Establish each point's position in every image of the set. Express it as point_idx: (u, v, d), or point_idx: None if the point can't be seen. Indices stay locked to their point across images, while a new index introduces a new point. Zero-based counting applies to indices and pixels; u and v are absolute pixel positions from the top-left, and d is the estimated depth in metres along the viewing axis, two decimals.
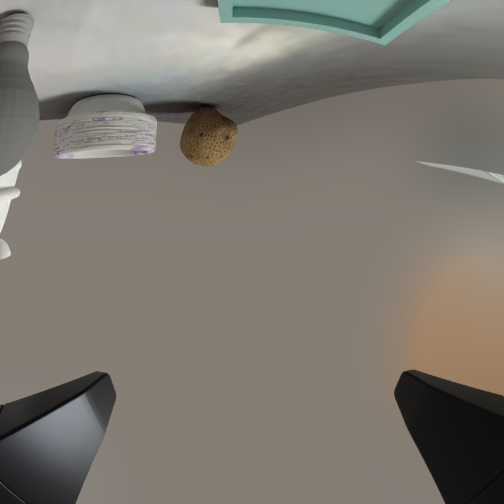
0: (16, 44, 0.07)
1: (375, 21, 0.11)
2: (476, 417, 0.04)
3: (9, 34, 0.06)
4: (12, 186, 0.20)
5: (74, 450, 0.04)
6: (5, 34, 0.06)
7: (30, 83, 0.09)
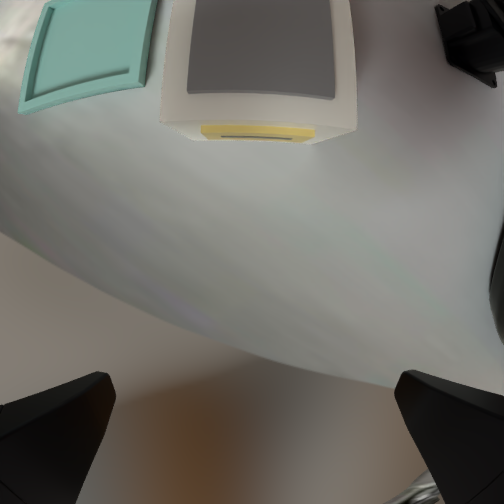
0: None
1: (39, 92, 0.13)
2: (476, 417, 0.04)
3: None
4: None
5: (73, 450, 0.04)
6: None
7: None
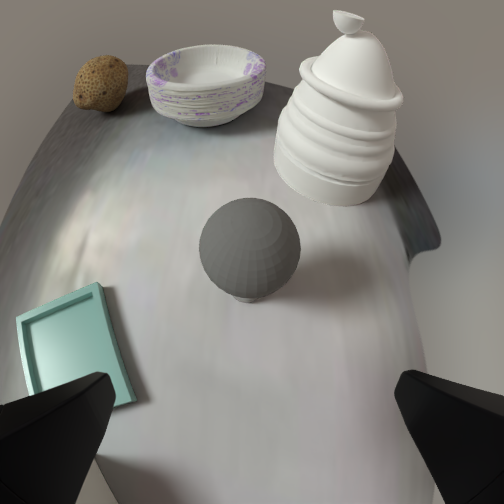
0: None
1: (30, 330, 0.19)
2: (476, 417, 0.04)
3: None
4: None
5: (73, 450, 0.04)
6: None
7: None
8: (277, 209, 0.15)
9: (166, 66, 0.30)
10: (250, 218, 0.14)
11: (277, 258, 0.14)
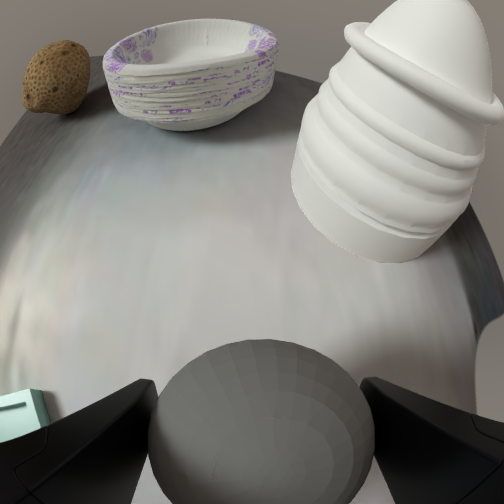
0: None
1: None
2: (432, 436, 0.04)
3: None
4: (356, 50, 0.11)
5: (123, 465, 0.04)
6: None
7: None
8: (342, 405, 0.05)
9: (136, 47, 0.19)
10: (270, 474, 0.04)
11: None
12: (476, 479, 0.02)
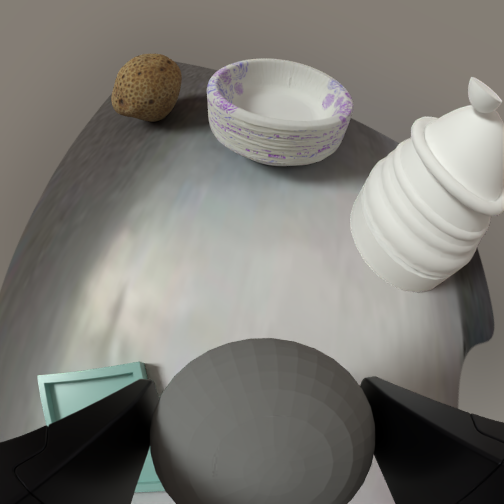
0: None
1: (55, 393, 0.17)
2: (433, 436, 0.04)
3: None
4: None
5: (123, 465, 0.04)
6: None
7: None
8: (342, 404, 0.05)
9: (231, 80, 0.26)
10: (270, 471, 0.04)
11: None
12: (476, 479, 0.02)
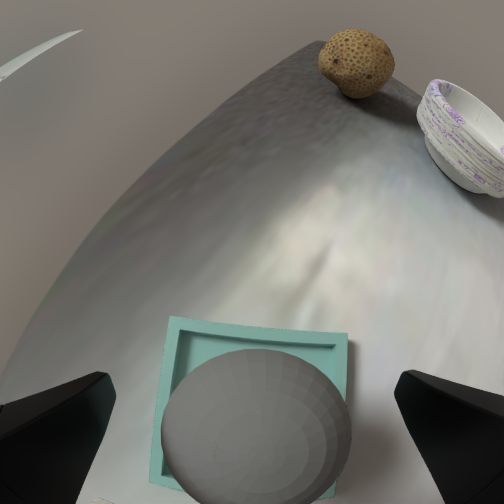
0: None
1: (190, 347, 0.15)
2: (476, 417, 0.04)
3: None
4: None
5: (73, 450, 0.04)
6: None
7: None
8: (318, 404, 0.06)
9: (441, 94, 0.22)
10: (258, 455, 0.05)
11: (310, 498, 0.05)
12: None
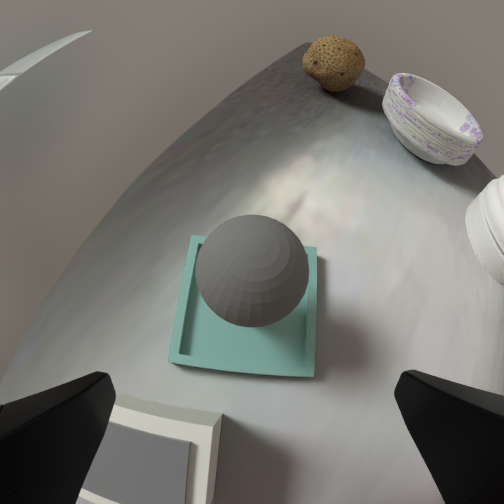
0: None
1: None
2: (476, 417, 0.04)
3: None
4: None
5: (73, 450, 0.04)
6: None
7: None
8: (284, 230, 0.13)
9: (403, 85, 0.29)
10: (253, 243, 0.12)
11: (284, 288, 0.12)
12: None
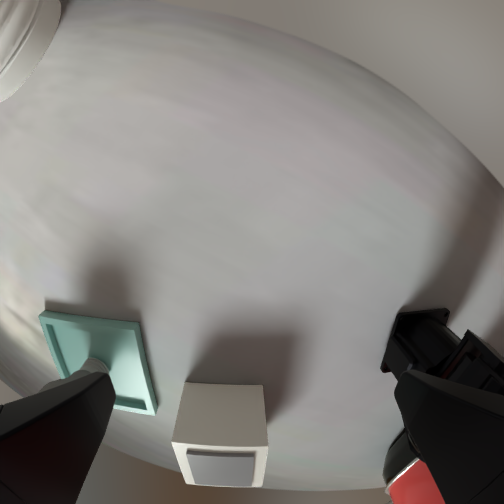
0: None
1: None
2: (476, 417, 0.04)
3: None
4: None
5: (73, 450, 0.04)
6: None
7: None
8: None
9: None
10: None
11: None
12: None
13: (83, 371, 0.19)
